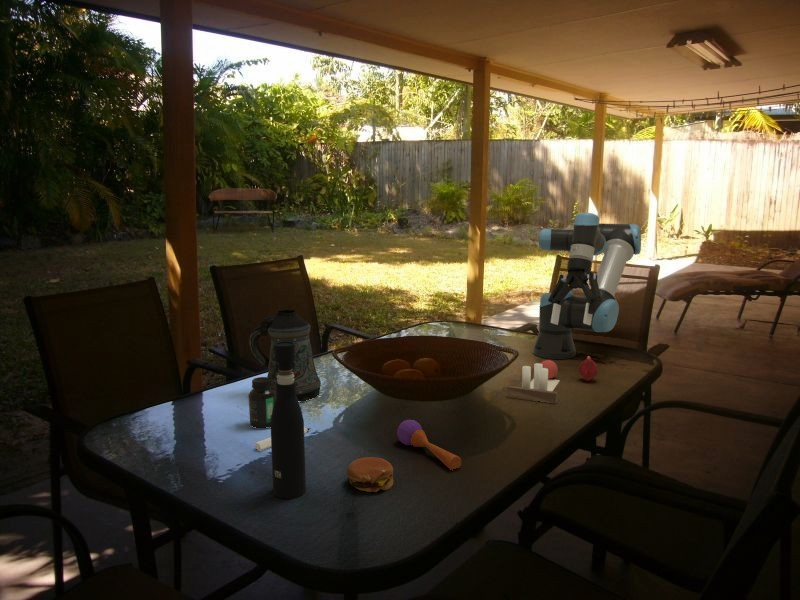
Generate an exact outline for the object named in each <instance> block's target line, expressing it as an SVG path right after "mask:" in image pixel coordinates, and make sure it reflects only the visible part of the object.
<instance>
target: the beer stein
mask: <svg viewBox="0 0 800 600" xmlns="http://www.w3.org/2000/svg"><path fill="white" fill-rule="evenodd" d="M311 326H312V325H311V324H310V323H309V322H308V321H307V320H306V319H304V318H302V317H301V316H300V315H298V314H297V313H296V310H293V309H291V310H290V309H284V310H278V311H277V312H276V314H275V315H271V316H266V317H264V318H262V321H261V322H260V325H259V326H257V327H255V328H254V329H252V330H251V331H250V336H249V339H248V341H249V342H248V343H249V348H250V351H251V353H252V355H253V356H254V358H255V359H256V361H258V362H259V364H260V365H262V366H263V367H264V368H266V369H267V370H268V371H267V376H266V377H269V378H271V379H272V387H271V388H273V389H274V390H275V391H276V383H277V382H278V381H277V379H278V378H277V376H278V373H280V372H279V371H278V369H279V363H278V362H275V353H274V344H275V343H278V342H293V343H295V361H293V362H292V371H291V372H293V375H294V382H296V397H297V399H298V401H306V400H309V399H312V398H315V397H316V396H317V395H319V396H320V391H321V385H322V384H321V383H322V382H321V379H320V377H319V375H318V373H317V372H318V371H317V369H316V365H315V362H314V361H315V360H314V357H313V350H312V344H311V340H310V332H311ZM261 336H265V337H266V336H270V349H269V358H268V357H267V356H266V355H265V354H264V353H263V351H262V350H261V348H260V346H259V338H260V337H261ZM317 397H318V396H317ZM317 397H316V398H317ZM316 398H315V399H316ZM312 400H313V399H312ZM309 401H310V400H309ZM306 402H307V401H306Z"/></svg>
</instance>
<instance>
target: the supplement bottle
mask: <svg viewBox="0 0 800 600" xmlns="http://www.w3.org/2000/svg"><path fill="white" fill-rule="evenodd" d="M271 387H272V379H271V378H269V377H267V376H260V377H254V378H253V379H252V380H251V388H252V389H251V390H250V391H249V393H248V410H249V411H248V413H249V414H248V415H249V425H250V427H251V426H253V427H256V428H266V427H271V415H272V410H273V406H274V403H275V400H276V391H275V390H274V389H273V388H271ZM253 427H252V428H253Z"/></svg>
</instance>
